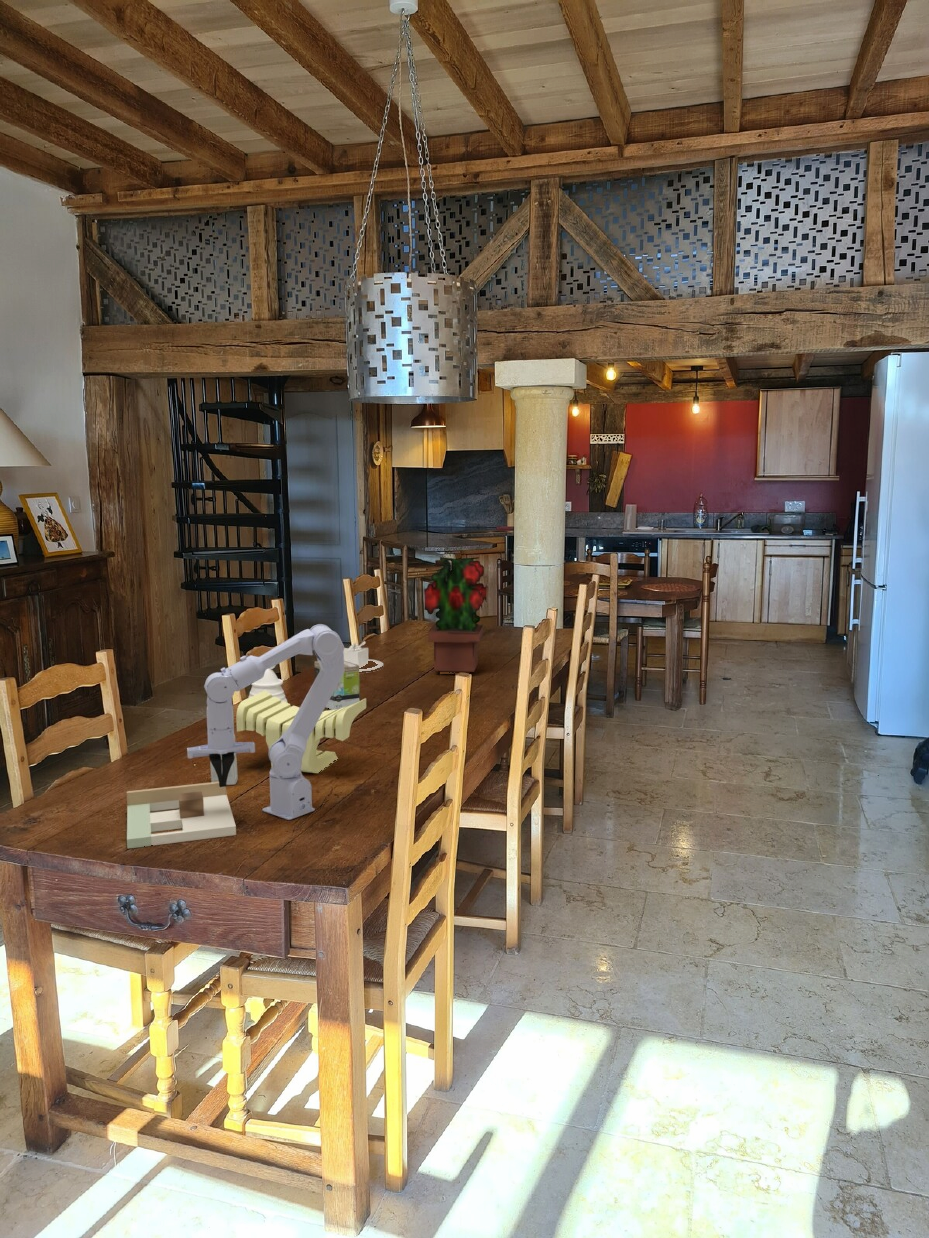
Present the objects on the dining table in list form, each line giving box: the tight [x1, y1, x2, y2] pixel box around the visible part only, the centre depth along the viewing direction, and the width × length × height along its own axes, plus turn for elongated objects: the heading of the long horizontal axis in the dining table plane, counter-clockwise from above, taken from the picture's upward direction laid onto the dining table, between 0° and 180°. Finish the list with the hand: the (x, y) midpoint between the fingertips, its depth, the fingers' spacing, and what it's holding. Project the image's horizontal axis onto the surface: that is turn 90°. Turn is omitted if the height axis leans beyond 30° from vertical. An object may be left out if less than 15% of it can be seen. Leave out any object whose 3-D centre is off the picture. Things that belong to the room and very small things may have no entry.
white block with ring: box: [343, 640, 384, 672], centre depth 368 cm, size 25×25×11 cm
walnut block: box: [178, 791, 204, 819], centre depth 202 cm, size 5×5×4 cm
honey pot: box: [247, 665, 288, 703], centre depth 290 cm, size 13×13×18 cm
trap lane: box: [126, 782, 237, 850], centre depth 202 cm, size 22×22×5 cm
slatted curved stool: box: [235, 690, 367, 774], centre depth 241 cm, size 30×16×18 cm, turn 74°
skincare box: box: [209, 734, 239, 786], centre depth 228 cm, size 6×4×12 cm
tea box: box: [313, 660, 361, 710], centre depth 306 cm, size 15×10×15 cm, turn 34°
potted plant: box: [423, 556, 488, 674], centre depth 357 cm, size 22×22×45 cm
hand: (222, 785), depth 204 cm, fingers closed
